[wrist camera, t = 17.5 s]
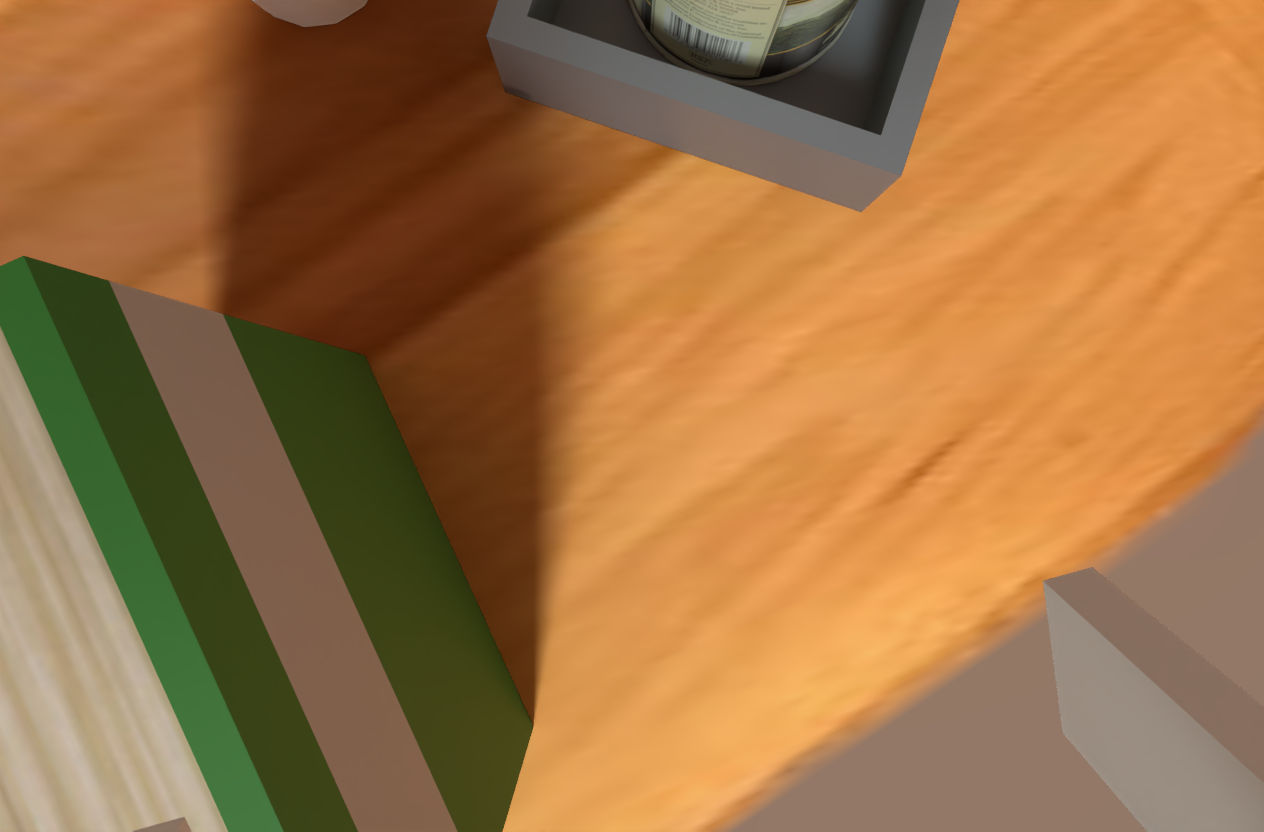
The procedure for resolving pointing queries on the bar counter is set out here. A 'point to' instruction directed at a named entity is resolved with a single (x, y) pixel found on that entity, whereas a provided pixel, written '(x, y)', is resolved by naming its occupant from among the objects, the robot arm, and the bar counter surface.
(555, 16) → the tray
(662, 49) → the coffee can
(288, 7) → the foam cup
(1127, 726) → the robot arm
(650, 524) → the bar counter surface
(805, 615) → the bar counter surface
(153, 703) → the hardback book
